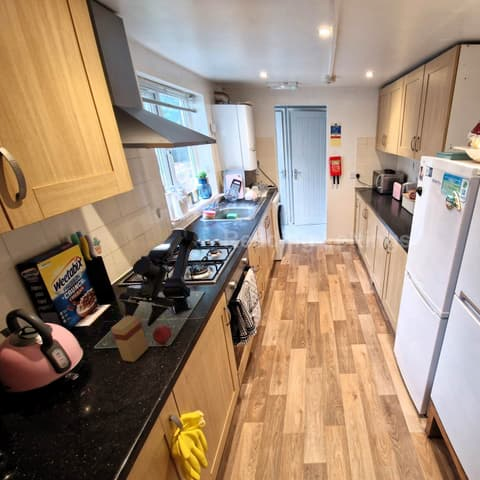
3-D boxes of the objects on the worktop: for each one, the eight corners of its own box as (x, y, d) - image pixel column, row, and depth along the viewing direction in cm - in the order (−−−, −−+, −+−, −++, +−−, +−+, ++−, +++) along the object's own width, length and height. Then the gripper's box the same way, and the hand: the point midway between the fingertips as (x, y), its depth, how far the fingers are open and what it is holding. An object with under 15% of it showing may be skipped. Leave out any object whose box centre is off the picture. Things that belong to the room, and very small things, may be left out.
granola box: (122, 360, 91) (110, 327, 85) (138, 346, 97) (127, 315, 91) (134, 362, 90) (122, 329, 85) (148, 347, 96) (138, 316, 91)
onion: (165, 349, 95) (160, 331, 92) (151, 346, 96) (146, 329, 93) (176, 338, 101) (172, 321, 98) (163, 335, 102) (158, 319, 99)
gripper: (115, 272, 93) (94, 317, 87) (160, 278, 89) (142, 325, 83) (139, 280, 103) (122, 321, 97) (181, 285, 99) (166, 328, 94)
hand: (137, 324), depth 93 cm, fingers open, 9 cm apart
